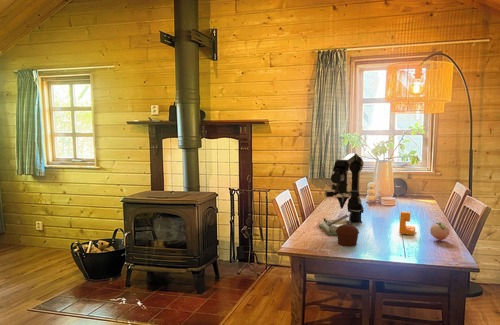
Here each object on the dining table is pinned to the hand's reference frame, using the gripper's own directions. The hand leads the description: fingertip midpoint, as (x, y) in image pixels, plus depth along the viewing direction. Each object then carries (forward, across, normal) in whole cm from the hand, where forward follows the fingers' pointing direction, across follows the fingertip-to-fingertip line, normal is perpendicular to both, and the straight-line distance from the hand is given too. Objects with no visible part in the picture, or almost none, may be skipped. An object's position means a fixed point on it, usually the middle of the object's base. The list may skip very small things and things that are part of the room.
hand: (341, 208), depth 214 cm
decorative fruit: (+13, -45, +22) cm, 52 cm away
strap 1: (+7, +2, +2) cm, 7 cm away
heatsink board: (+13, +2, -3) cm, 14 cm away
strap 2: (+9, +1, -7) cm, 12 cm away
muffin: (+14, +4, +24) cm, 28 cm away
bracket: (+13, -36, +6) cm, 39 cm away
